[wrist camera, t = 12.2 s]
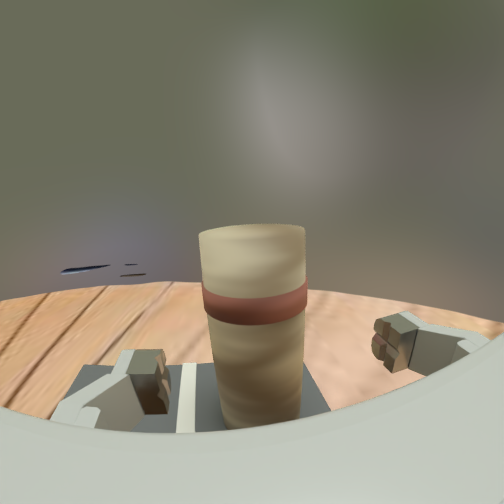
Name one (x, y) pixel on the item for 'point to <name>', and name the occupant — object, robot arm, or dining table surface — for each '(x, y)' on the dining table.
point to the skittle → (256, 319)
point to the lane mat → (196, 399)
